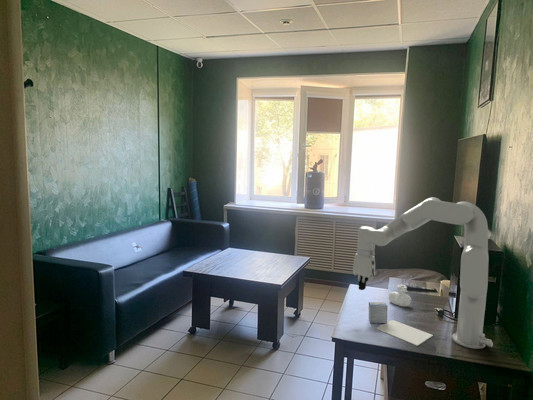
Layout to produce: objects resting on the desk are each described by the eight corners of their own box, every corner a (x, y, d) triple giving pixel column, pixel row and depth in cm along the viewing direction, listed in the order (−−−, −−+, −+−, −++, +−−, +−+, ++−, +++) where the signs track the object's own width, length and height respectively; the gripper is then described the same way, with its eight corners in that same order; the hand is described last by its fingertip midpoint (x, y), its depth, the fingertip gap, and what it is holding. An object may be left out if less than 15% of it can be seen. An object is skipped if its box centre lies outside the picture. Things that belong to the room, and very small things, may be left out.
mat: (432, 336, 164) (433, 335, 164) (417, 346, 155) (417, 345, 155) (392, 320, 179) (392, 319, 179) (375, 328, 170) (375, 328, 170)
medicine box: (385, 319, 179) (385, 302, 178) (387, 323, 174) (387, 305, 174) (368, 319, 180) (368, 301, 179) (369, 323, 175) (370, 305, 174)
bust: (410, 311, 196) (416, 291, 200) (407, 305, 191) (413, 285, 195) (388, 304, 204) (394, 285, 208) (384, 299, 199) (391, 280, 203)
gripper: (383, 254, 177) (379, 292, 179) (356, 247, 188) (353, 283, 190) (374, 257, 172) (370, 295, 174) (347, 249, 183) (344, 286, 185)
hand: (361, 289), depth 182 cm, fingers closed
